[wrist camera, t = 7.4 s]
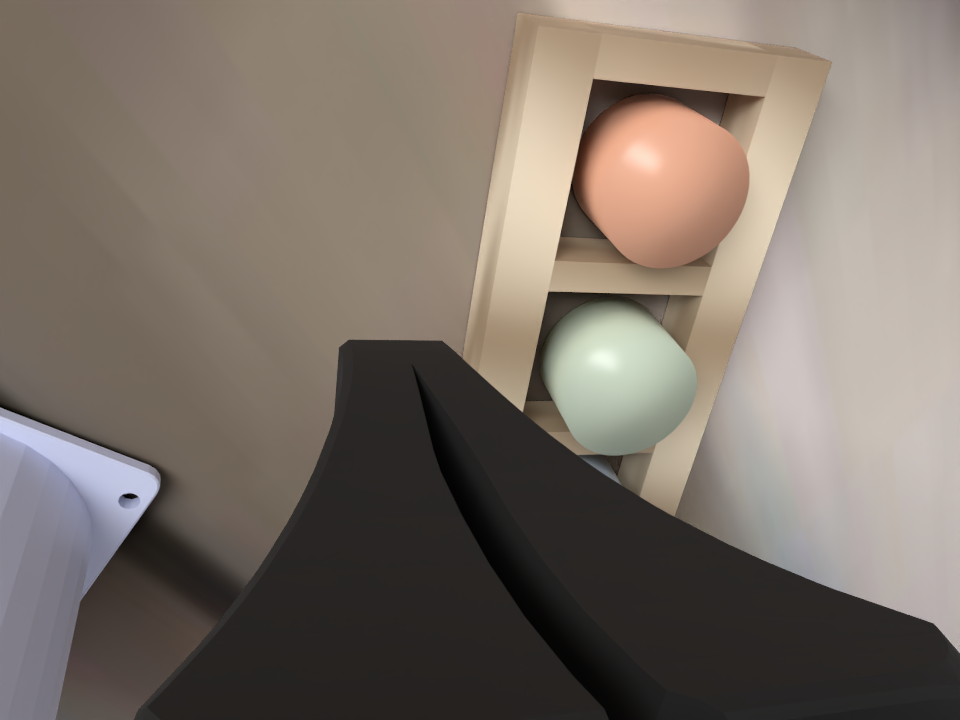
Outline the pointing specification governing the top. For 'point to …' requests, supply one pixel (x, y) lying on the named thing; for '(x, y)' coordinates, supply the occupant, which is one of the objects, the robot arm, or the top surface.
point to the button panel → (597, 262)
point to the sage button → (617, 376)
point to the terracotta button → (660, 180)
